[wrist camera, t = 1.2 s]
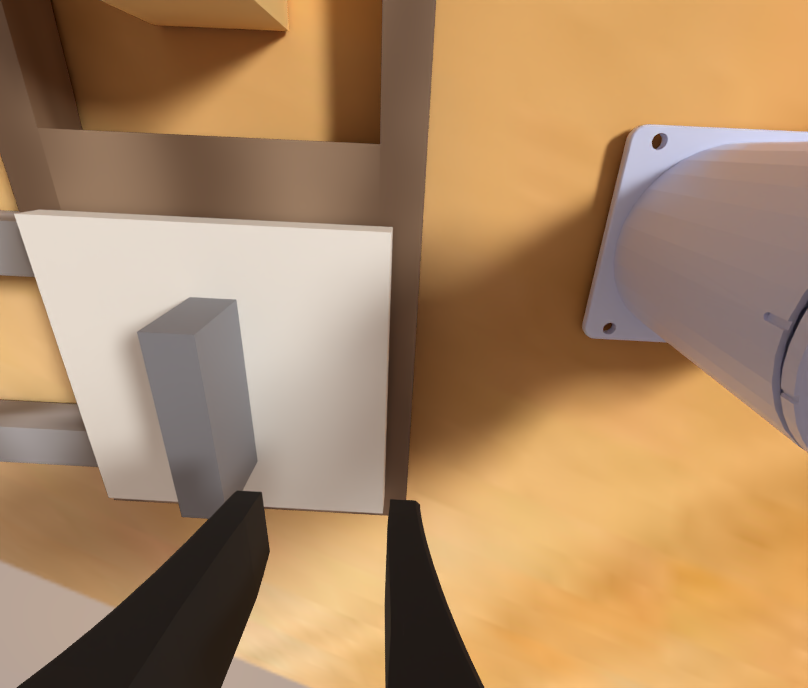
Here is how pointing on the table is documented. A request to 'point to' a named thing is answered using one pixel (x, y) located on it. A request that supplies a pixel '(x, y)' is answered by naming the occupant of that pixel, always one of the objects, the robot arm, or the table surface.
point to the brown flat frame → (214, 195)
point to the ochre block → (209, 13)
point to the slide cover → (223, 354)
